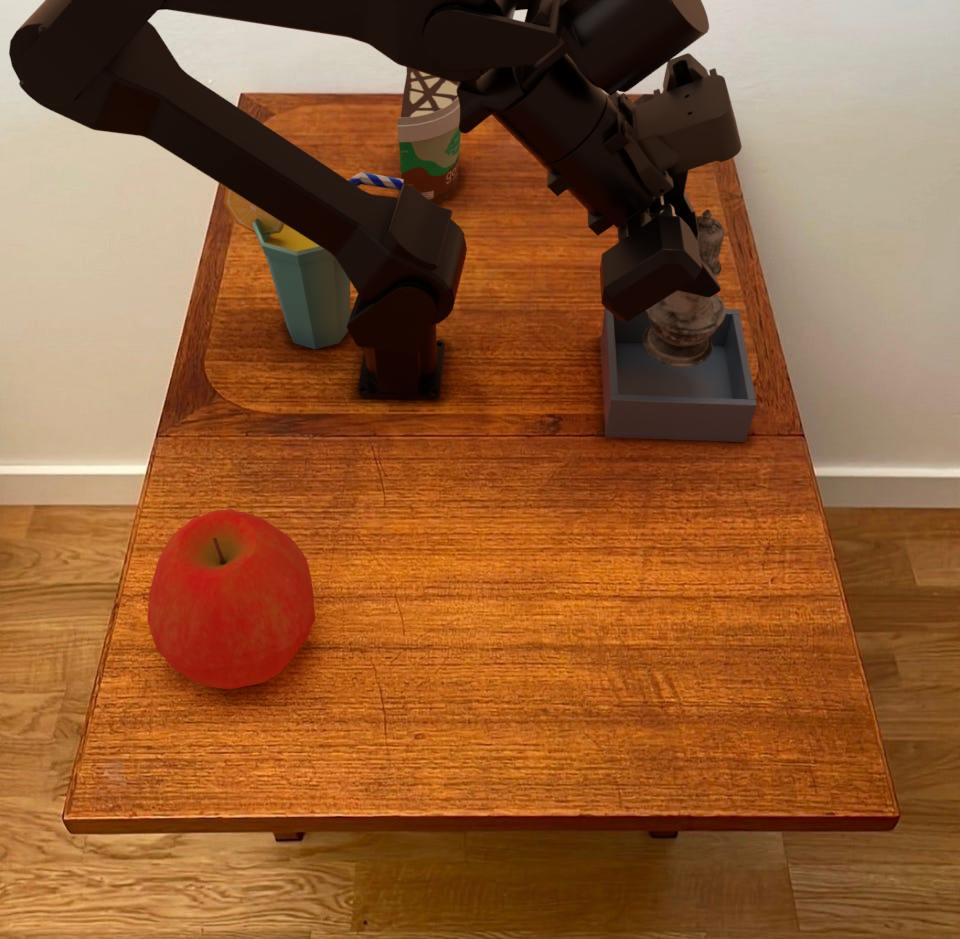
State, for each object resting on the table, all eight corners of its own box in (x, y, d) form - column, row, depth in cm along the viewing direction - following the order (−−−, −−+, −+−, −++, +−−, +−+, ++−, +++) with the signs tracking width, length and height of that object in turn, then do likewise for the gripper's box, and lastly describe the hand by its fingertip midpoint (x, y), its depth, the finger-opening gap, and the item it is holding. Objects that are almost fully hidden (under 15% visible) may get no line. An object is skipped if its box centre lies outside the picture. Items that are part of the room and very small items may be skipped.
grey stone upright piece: (711, 376, 73) (748, 243, 64) (632, 361, 74) (658, 227, 65) (720, 325, 77) (756, 192, 68) (644, 311, 78) (670, 178, 69)
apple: (350, 659, 64) (333, 565, 56) (198, 737, 60) (156, 649, 52) (283, 547, 69) (259, 448, 61) (140, 613, 66) (95, 516, 58)
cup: (414, 298, 86) (405, 143, 75) (410, 360, 81) (400, 204, 70) (253, 297, 86) (220, 142, 75) (239, 359, 81) (201, 203, 70)
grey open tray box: (745, 442, 76) (757, 405, 73) (605, 437, 76) (611, 399, 73) (728, 347, 83) (739, 309, 80) (600, 342, 83) (605, 304, 80)
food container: (467, 219, 94) (467, 122, 86) (402, 218, 94) (396, 121, 86) (471, 147, 102) (471, 52, 94) (411, 146, 102) (406, 51, 94)
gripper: (693, 129, 52) (841, 303, 60) (665, -28, 64) (792, 135, 72) (532, 246, 58) (688, 389, 66) (535, 82, 70) (666, 220, 78)
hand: (712, 275), depth 71 cm, fingers closed on grey stone upright piece, 3 cm apart
